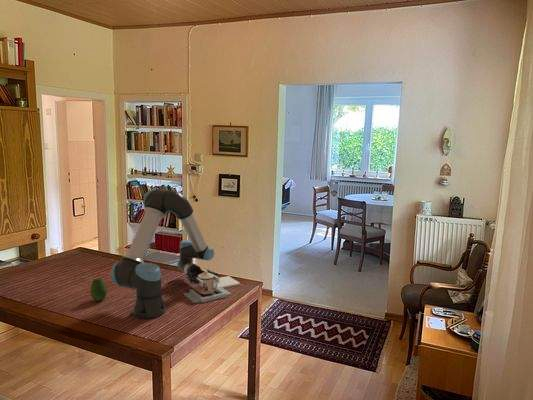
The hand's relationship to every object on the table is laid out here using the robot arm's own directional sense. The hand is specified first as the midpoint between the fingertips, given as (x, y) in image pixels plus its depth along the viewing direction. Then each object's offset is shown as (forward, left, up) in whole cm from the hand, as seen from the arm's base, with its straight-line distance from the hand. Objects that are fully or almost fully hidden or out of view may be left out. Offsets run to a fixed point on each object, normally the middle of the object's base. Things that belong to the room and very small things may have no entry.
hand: (210, 282), depth 215 cm
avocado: (-51, +27, -9) cm, 58 cm away
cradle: (0, +3, -8) cm, 9 cm away
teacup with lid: (+1, +4, -7) cm, 9 cm away
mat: (+16, +15, -8) cm, 23 cm away
